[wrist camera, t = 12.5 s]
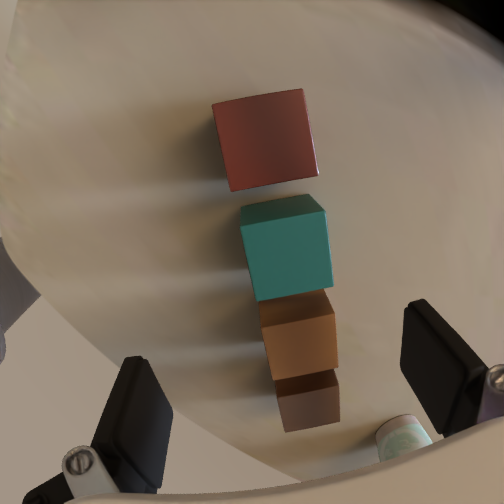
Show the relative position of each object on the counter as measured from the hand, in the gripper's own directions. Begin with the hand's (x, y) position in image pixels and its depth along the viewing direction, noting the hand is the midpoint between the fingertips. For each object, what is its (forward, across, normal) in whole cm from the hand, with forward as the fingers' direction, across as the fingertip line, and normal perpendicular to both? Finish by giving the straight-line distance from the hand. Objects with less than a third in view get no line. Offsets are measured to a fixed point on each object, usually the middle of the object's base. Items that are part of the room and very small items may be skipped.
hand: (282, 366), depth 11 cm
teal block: (+14, -2, 0) cm, 14 cm away
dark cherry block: (+14, -2, -7) cm, 16 cm away
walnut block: (+14, -2, +14) cm, 20 cm away
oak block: (+14, -2, +7) cm, 16 cm away
